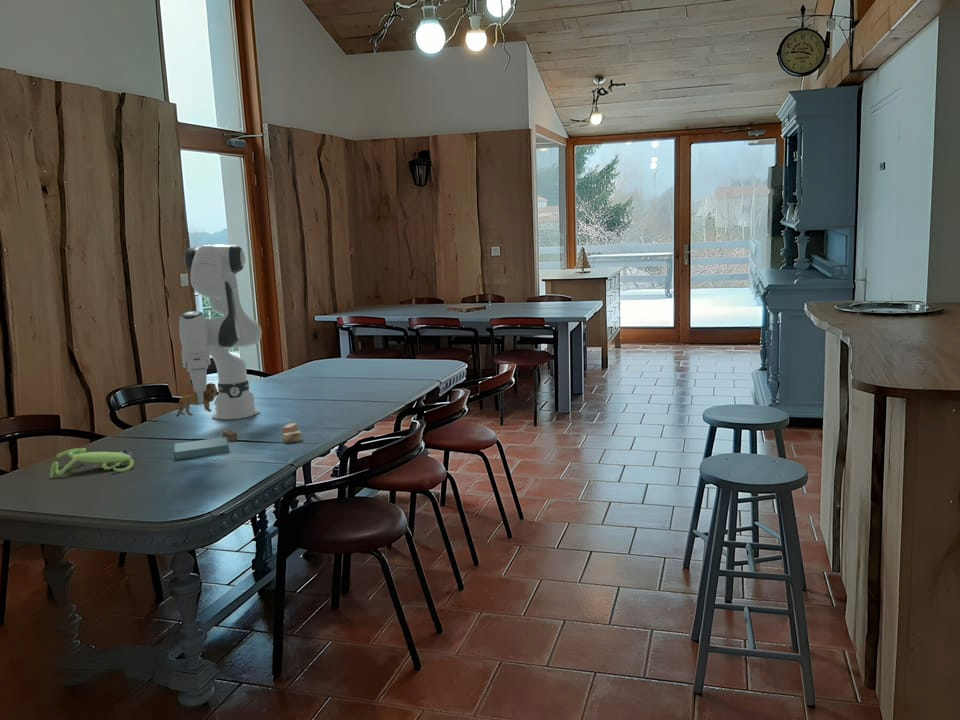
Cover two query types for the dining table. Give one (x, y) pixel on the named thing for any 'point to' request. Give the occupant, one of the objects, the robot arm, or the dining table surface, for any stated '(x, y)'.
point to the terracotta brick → (290, 428)
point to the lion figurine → (193, 399)
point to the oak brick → (292, 436)
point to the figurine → (95, 459)
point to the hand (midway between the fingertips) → (200, 400)
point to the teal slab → (201, 448)
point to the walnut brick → (230, 435)
